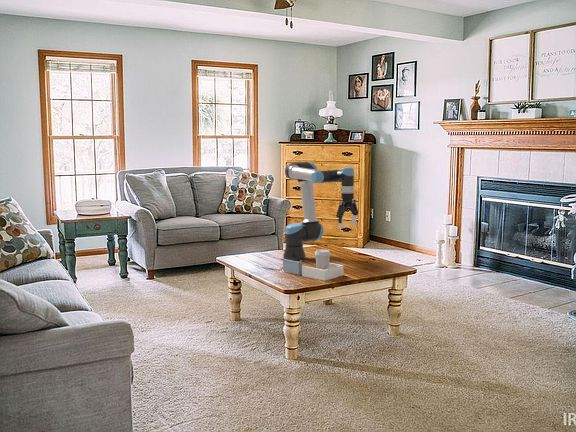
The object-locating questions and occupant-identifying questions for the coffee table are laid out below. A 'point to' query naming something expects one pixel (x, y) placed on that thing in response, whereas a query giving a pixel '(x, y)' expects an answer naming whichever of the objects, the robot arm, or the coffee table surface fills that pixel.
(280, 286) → the coffee table surface
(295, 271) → the grey flat plate
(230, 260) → the coffee table surface
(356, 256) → the coffee table surface
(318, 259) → the coffee cup
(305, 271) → the white open box
